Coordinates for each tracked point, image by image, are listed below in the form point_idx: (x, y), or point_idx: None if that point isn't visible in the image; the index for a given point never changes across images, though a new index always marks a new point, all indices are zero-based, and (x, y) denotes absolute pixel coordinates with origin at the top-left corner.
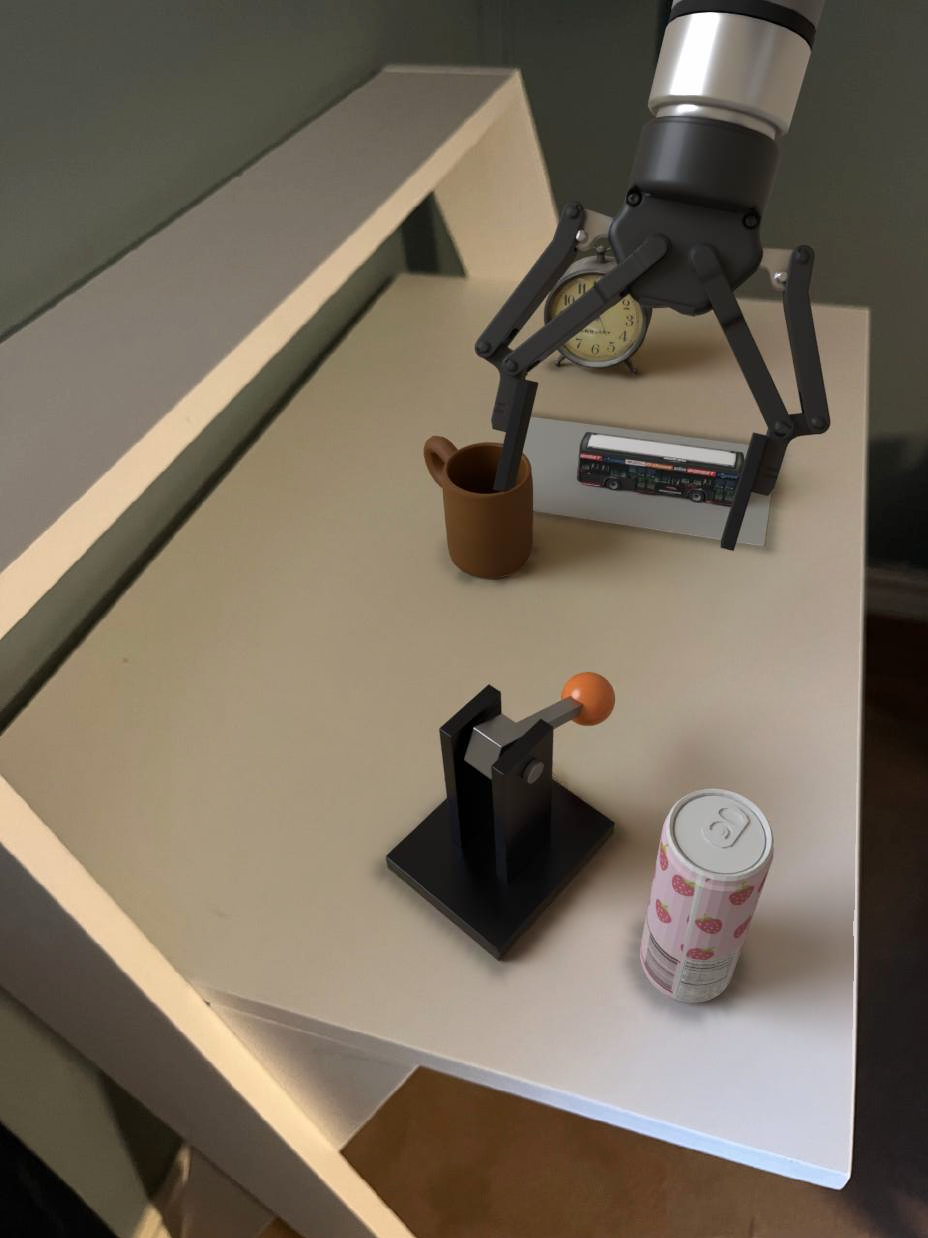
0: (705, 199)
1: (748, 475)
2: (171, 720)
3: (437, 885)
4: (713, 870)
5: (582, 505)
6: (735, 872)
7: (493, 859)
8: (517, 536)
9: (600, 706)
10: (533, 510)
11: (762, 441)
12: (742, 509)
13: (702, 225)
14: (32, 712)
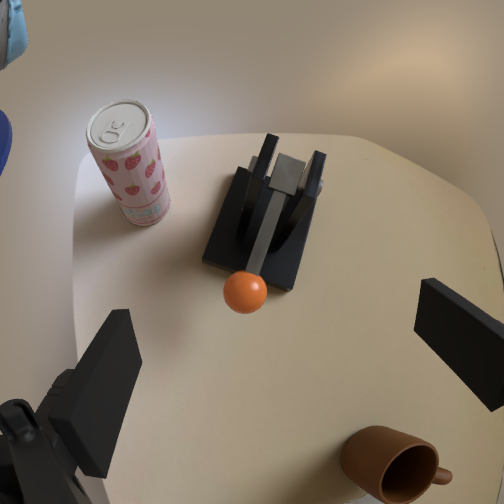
0: None
1: (85, 369)
2: (450, 243)
3: None
4: (120, 105)
5: None
6: (108, 108)
7: (262, 210)
8: (359, 455)
9: (231, 277)
10: (353, 500)
11: (56, 410)
12: (98, 338)
13: None
14: (488, 226)
